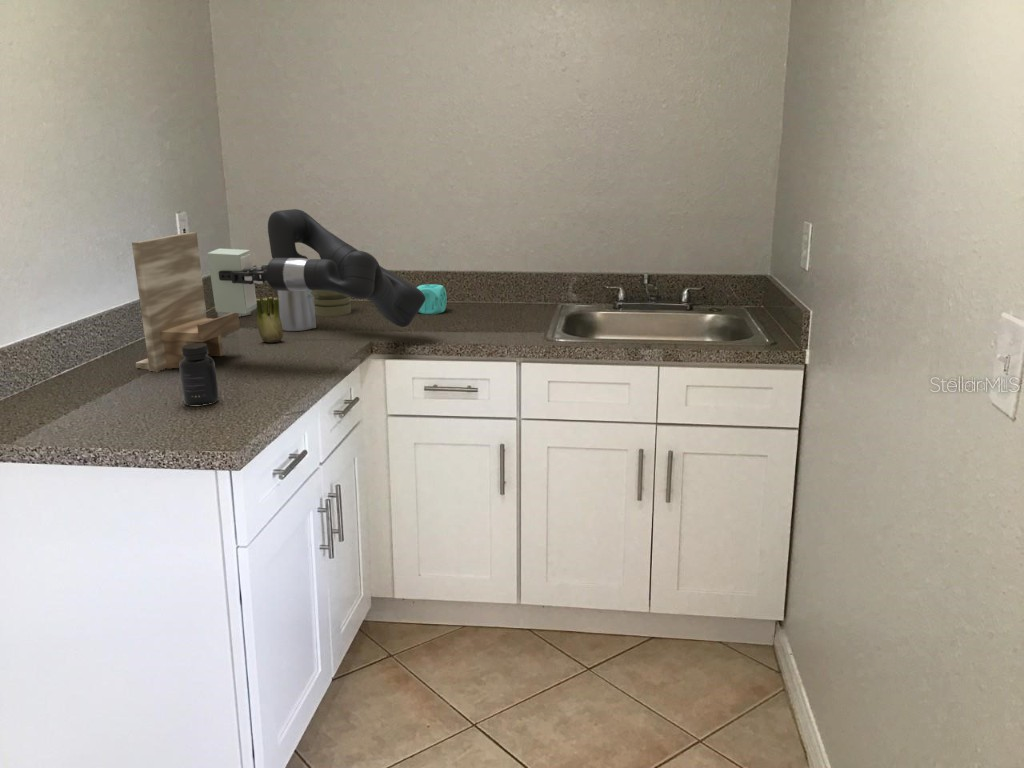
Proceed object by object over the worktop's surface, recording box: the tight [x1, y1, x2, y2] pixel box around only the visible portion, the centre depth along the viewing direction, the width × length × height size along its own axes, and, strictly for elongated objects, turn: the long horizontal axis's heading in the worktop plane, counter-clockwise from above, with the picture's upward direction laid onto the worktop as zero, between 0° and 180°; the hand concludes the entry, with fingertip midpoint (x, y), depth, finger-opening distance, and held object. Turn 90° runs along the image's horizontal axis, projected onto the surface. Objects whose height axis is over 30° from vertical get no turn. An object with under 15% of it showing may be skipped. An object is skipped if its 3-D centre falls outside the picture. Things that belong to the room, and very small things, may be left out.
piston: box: [311, 280, 352, 317], centre depth 263 cm, size 11×12×11 cm
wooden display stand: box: [131, 231, 241, 373], centre depth 203 cm, size 18×22×30 cm
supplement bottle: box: [178, 343, 220, 405], centre depth 172 cm, size 7×7×12 cm
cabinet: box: [207, 248, 257, 314], centre depth 199 cm, size 8×5×14 cm, turn 76°
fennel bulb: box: [256, 296, 284, 344], centre depth 225 cm, size 6×5×12 cm
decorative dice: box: [416, 283, 448, 315], centre depth 262 cm, size 8×8×8 cm
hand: (226, 273), depth 198 cm, fingers closed on cabinet, 5 cm apart
